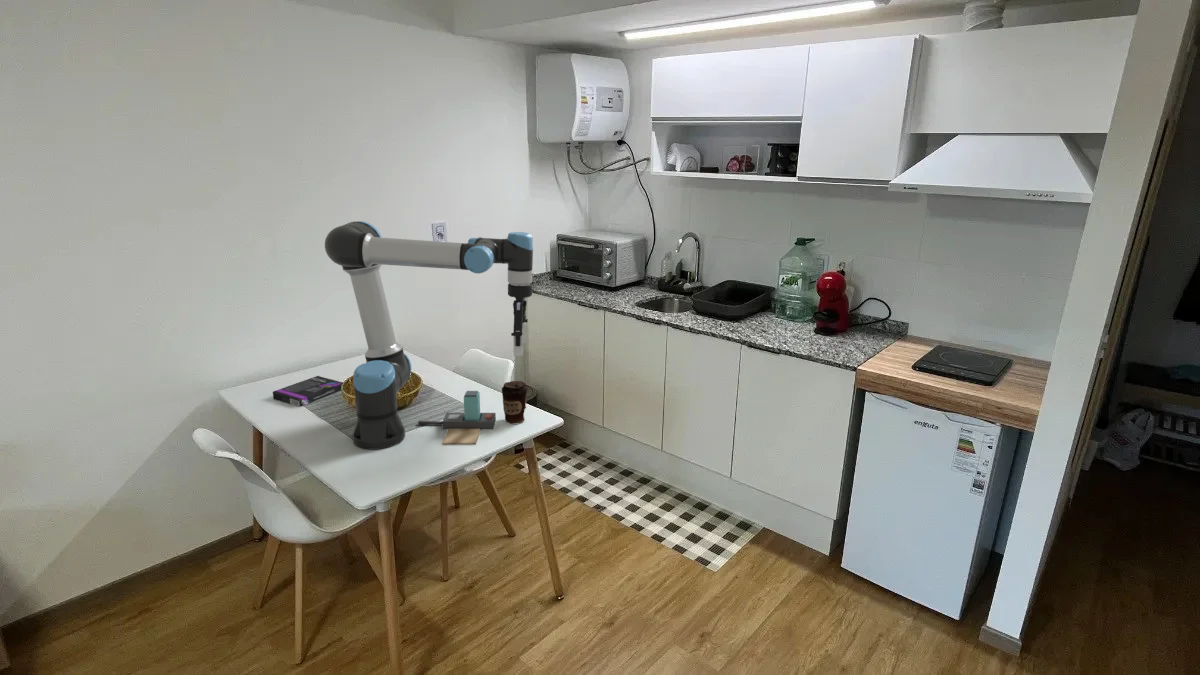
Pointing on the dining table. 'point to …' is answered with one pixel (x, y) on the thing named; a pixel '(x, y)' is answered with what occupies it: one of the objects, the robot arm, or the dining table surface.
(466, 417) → the block
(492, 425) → the strip
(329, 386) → the box
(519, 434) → the dining table surface
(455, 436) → the pad
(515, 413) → the coffee cup
